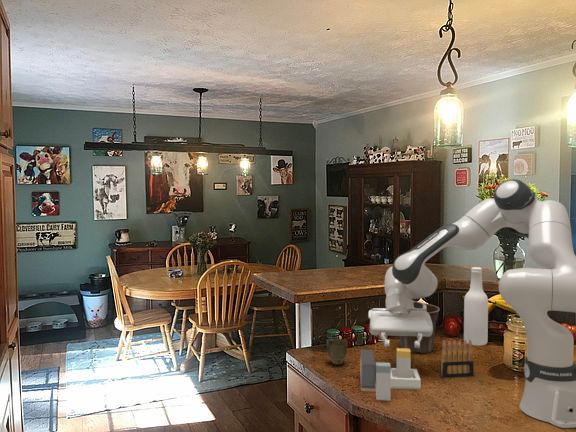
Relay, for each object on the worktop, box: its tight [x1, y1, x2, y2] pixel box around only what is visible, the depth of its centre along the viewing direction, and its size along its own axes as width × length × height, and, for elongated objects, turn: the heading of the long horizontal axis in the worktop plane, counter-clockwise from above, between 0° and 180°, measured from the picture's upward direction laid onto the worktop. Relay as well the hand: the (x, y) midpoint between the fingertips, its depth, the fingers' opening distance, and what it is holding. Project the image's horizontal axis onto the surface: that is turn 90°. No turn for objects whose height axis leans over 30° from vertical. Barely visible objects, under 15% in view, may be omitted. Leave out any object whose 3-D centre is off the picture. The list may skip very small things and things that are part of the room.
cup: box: [325, 338, 349, 366], centre depth 170 cm, size 8×7×8 cm
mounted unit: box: [359, 349, 376, 393], centre depth 154 cm, size 5×16×8 cm, turn 173°
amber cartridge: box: [395, 347, 412, 378], centre depth 153 cm, size 4×3×10 cm
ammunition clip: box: [439, 339, 475, 379], centre depth 159 cm, size 11×2×12 cm, turn 96°
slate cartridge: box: [375, 361, 392, 402], centre depth 142 cm, size 4×3×10 cm
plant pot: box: [399, 302, 441, 354], centre depth 186 cm, size 16×16×16 cm
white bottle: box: [463, 266, 489, 347], centre depth 193 cm, size 9×9×30 cm
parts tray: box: [391, 367, 422, 391], centre depth 153 cm, size 9×9×3 cm
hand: (402, 346), depth 155 cm, fingers open, 8 cm apart
